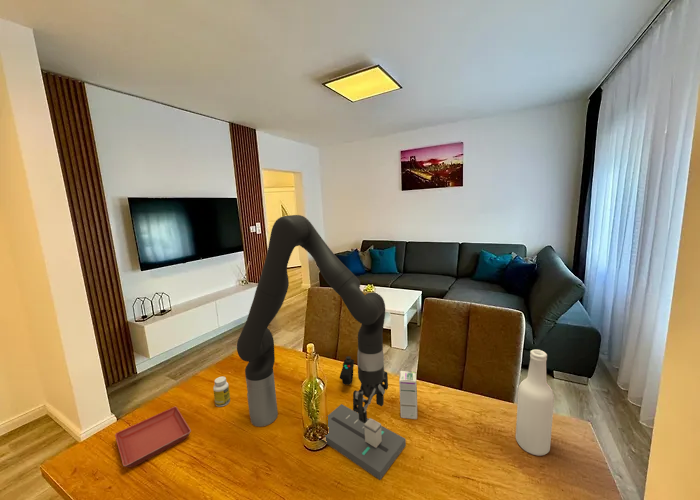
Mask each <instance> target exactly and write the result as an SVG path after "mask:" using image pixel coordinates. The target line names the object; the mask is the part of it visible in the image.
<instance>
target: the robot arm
mask: <svg viewBox="0 0 700 500" xmlns="http://www.w3.org/2000/svg"><path fill="white" fill-rule="evenodd" d="M299 246H300V247H301V248H303V249H304V250H305V251H306V252H307V253H308V254H310V256H311V257H312V258H313V260H314V261H315V263H316V265H317V268H318V270H319V272H320V274H321V276H322V278H323V279H324V281H325V282H326V283H327V284H328V285H329V286H330V288H331V289H332V290H333V291H335V293H337V294H338V296H340V298H341V300H342V302H343V303H344V305H345V306H346V308H347V309H348V311H349V313H350V314H351V316H352V317H353V318H354V319H355V320H356V321H357V322H358V323H360V324H361V325H360V327H359V330H358V332H357V378H358V380H359V383H360V389H359V390H353V393H352V410H353V411H355V412H357V413H359V420H360V421H361V422H363V423H366V422H367V418H368V414H367V413H368V411H367V409H368V407H369V405H370V404H371V402H372V399H373V397H374V396H375V397H376V399H375V403H376V405H378V406H380V407H383V406H384V405H385V403H384V398H385V397H384V395H385V393H386V391H387V390H388V388H389V381H388V379H389V378H388V372H387V371H385V355H384V354H385V353H384V342H383V341H384V337H383V330H384V325H385V319H386V304H385V300H384V297H382V295H381V294H379V293H377V292H374V291H373V292H368V293H365V294H364V292H363V291H362V289H361V288H360V287H361V281H360V280H359V278H358V277H357V276H356V275H355V274H354V273H353V272H352V271H351V270H350V269H349V268H348V267H347V266H346V265H345V264H344V263H343V262H342V261H341V260H340V259H339V258H338V256H336V254H335V253H334V252H333V251H332V250H331V248H330V247H329V246H328V245H327V242H325V240H324V239H323V238H322V237H321V235H320V234H319V232H318V231H317V229H316V227H314V225H313V224H312V222H311V221H310V220H309V219H307V217H305V216H304V215H301V214H293V215H292V214H291V215H282V216H280V217H278V218H277V219H276V220H275V222H274V223H273V224H272V228H271V231H270V237H269V241H268V248H267V251H266V256H265V259H264V264H263V266H262V267H263V268H262V271H261V273H260V277H259V280H258V283H257V285H256V289H255V291H254V296H253V300H252V303H251V304H250V305H251V306H250V309H249V312H248V314H247V318H246V321H245V323H244V326H243V327H242V330H241V332H240V335H239V336H238V339H237V343H236V352H237V355H238V357H239V358H240V360H242V361H243V362H248V363H247V364H246V366H245V369H244V373H245V382H246V390H247V394H246V396H247V404H248V413H249V417H250V423H251V424H252V425H253V426H255V427H259V428H260V427H261V428H262V427H266V426H268V425H270V424H272V423H274V421H276V419H277V418H278V415H279V413H278V403H277V395H276V392H277V391H276V384H275V375H274V374H275V373H274V364H275V358H276V357H275V340H274V336H273V333H272V331H271V330H270V329H269V328H268V327H269V326H270V324H271V322H273V320H274V318H275V317H276V316H277V314H278V312H279V311H280V309H281V308H282V306H283V304H284V302H285V299H286V295H287V293H288V289H289V287H290V286H289V284H290V281H289V274H288V265H289V260H290V258H291V256H292V254H293V251H294V249H295V248H296V247H299ZM364 397H365V398H364ZM366 398H367V399H366ZM363 403H364V404H363Z"/></svg>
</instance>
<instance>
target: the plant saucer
mask: <svg viewBox="0 0 700 500" xmlns="http://www.w3.org/2000/svg"><path fill="white" fill-rule="evenodd" d="M191 432H192V430H191V428H190V426H189V424H188V423H187V421H186V420H185V418H184V417H183V415H182V413H181V412H180V410H179V408H178V407H177V406H173V407H170V408H169V409H166V410H164V411H162V412H160V413H157V414H155V415H153V416H150V417H149V418H147V419H144V420H142V421H140V422H137V423H136V424H134V425H130V426H129V427H127V428H124V429H122V430H119V431H118V432H116V433H115V434H114V436H115V441H116V443H117V447H118V452H119V456H120V459H121V461H122V462H121V463H122V465H123V467H126V468H134V467H136V466H138V465H139V464H142V463H143V462H146V461H147V460H149V459H151V458H152V457H154V456H156V455H159V454H160V453H162V452H164V451H166V450H167V449H168V450H169V449H170V448H171V447H173V446H176V445H177V444H179V443H180V442H182V441H183V442H184V440H185V439H186V438H188V437H189V435H190V433H191Z"/></svg>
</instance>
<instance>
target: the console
mask: <svg viewBox="0 0 700 500" xmlns="http://www.w3.org/2000/svg"><path fill="white" fill-rule="evenodd" d="M327 416H328V427H329V433H328V434H327V435H325V437H326V441H327V444H326V445H327V446H329V447H331V448H332V449H333V450H334V451H337V452H338V453H340V454H341V455H343V456H344V457H346V458H347V460H348V459H349V460H350V462H353V463H354V464H355V465H357V466H358V467H360V468H362V469H363V471H366V472H367V473H369V474H370V475H372V477H375V478H376V479H378V480H379V481H381V480H382V478H383V477H384V476H385V475H386V473H387V472H388V470H389V469H390V468H391V467H392V465H393V464H394V462H395V461H396V460H397V458H398V457H399V456H400V454H401V453H402V452H403V450H404V449H405V448H406V444H407V441H406V438H405V437H404V436H401V435H400V434H398V433H395V432H394V431H392V430H391V429H388V428H387V427H385V426H383V425H381V435H382V442H381V443H380V444H379V445H378V446H377V447H376V448H375V447H374V446H372V445H370V444H369V443H367V442H365V428H364V424H365V423H363V422H361V421H360V420H359V413H357V412H355V411H353V409H351V408H349V407H347V406H346V405H344V404H343V403H341V404H340V405H339V406H337V407H336V408H335V409H334V410H332V411H331V412H330V413H328V415H327ZM369 419H370V418H368V417H367V421H368V420H369Z"/></svg>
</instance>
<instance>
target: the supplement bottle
mask: <svg viewBox="0 0 700 500" xmlns="http://www.w3.org/2000/svg"><path fill="white" fill-rule="evenodd" d="M212 390H213V396H214V397H213V398H214V405H215V406H216V407H218V408H219V407H221V408H222V407H224V406H225V407H226V406H227V405H229V403H230V402H231V395H230V394H231V393H230V386H229V383H228V382H227V378H226V376H219V377H217V378H215V379H214V385H213V389H212Z"/></svg>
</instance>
